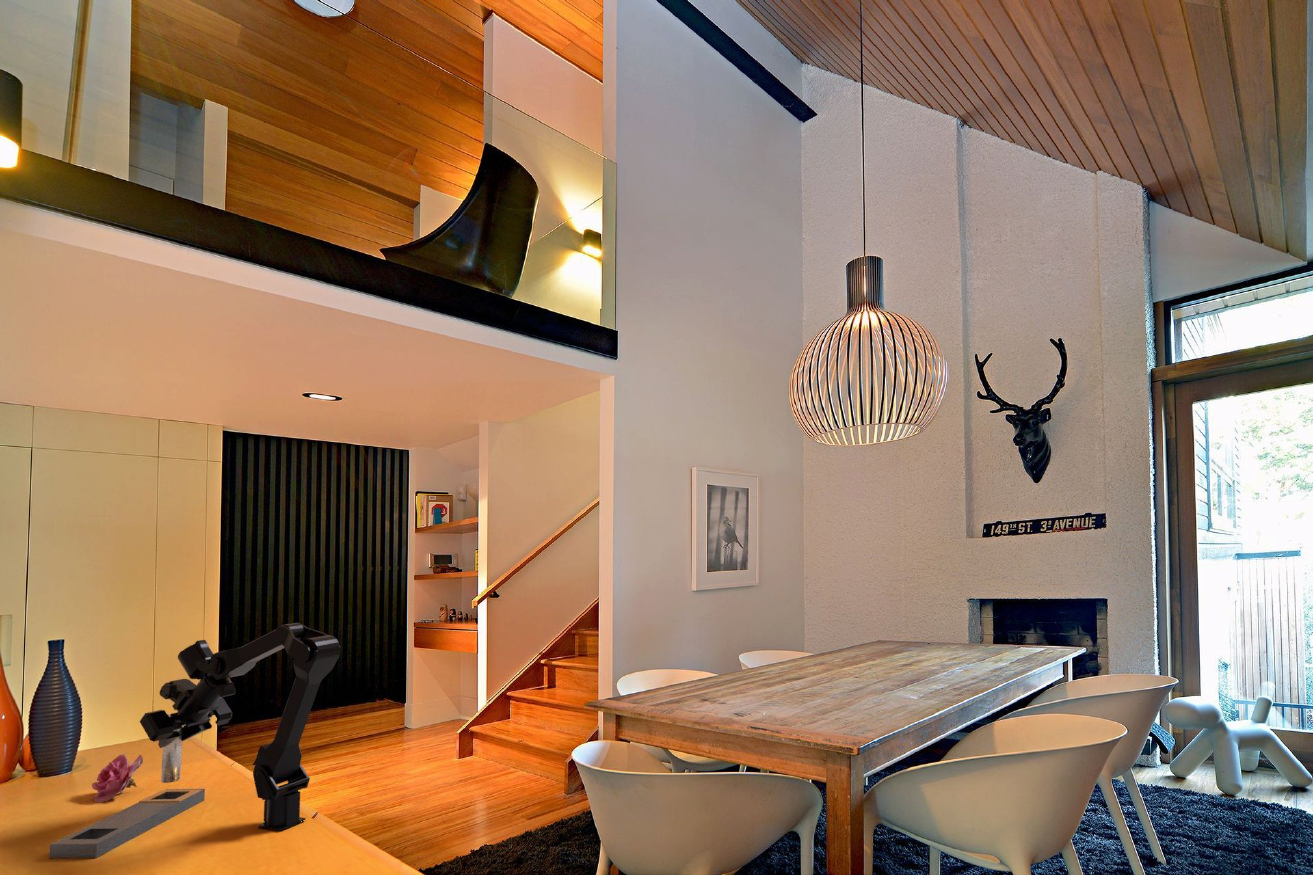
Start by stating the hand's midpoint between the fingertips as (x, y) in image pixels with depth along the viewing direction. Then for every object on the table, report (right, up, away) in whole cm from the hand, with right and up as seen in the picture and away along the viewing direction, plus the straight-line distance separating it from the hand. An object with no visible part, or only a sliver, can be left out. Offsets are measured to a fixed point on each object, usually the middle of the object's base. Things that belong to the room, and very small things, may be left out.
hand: (168, 744), depth 177 cm
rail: (+1, -12, -13) cm, 18 cm away
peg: (+1, -7, -2) cm, 8 cm away
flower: (-17, -15, +8) cm, 24 cm away
